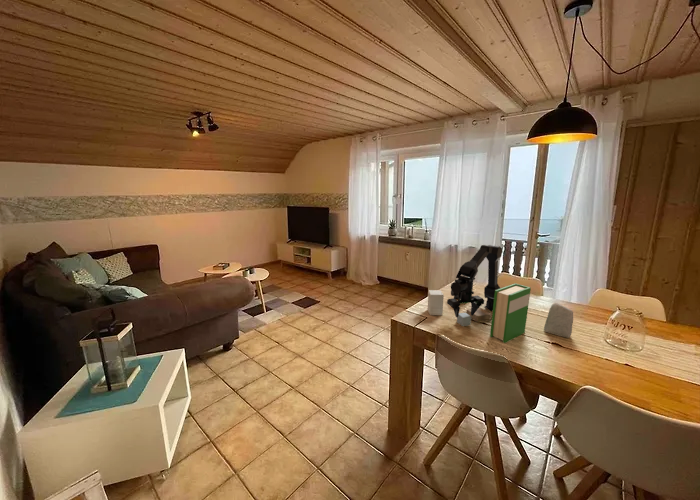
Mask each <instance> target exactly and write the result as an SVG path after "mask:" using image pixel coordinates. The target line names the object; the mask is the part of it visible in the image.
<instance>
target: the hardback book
mask: <svg viewBox="0 0 700 500" xmlns="http://www.w3.org/2000/svg"><path fill="white" fill-rule="evenodd" d="M531 291H532V290H531V287H530V286H528V285H527V286H526V285H522V284H520V283H516V282H515V283H513V284H509V285H506V286H504V287H500V289H498V290H495V295H494V304H493V311H492V313H491V323H490V324H491V325H490V334H489V337H490V338H493V337H494V338H497V339H499V340H501V341H502V344H506V343H508V342H510V341H513V340H514V339H515V338H518V337H519V336H521V335H523V334H525V333H526V326H527V319H528V311H529V303H530V298H531V297H530V295H531Z"/></svg>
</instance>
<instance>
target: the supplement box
mask: <svg viewBox="0 0 700 500" xmlns="http://www.w3.org/2000/svg"><path fill="white" fill-rule="evenodd" d="M427 295H428V297H427V299H428V300H427V311H428V314H429V315H430V316H443V313H444V297H445V295H444V293H443V291H442V290H438V289H436V290H434V289H429V290H428V293H427Z"/></svg>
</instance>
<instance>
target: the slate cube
mask: <svg viewBox="0 0 700 500" xmlns="http://www.w3.org/2000/svg"><path fill="white" fill-rule="evenodd" d="M456 323H458V325H460V326H461V327H466V326H471V325H472V324H471V323H472V319H471V316H470V315H468V314H467V313H466V312H459V315H458V318H457V317H456Z"/></svg>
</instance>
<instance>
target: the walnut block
mask: <svg viewBox="0 0 700 500" xmlns="http://www.w3.org/2000/svg"><path fill="white" fill-rule="evenodd" d="M465 313H467V314H468V315H470V316H471V321H474V322H475V323H482V322H487V321H492V313H491V312H489V311H487V310H485V309H483V308H482V307H481V306H480V307H479V308H478V309H477V311H476V312H475V313H474V315H473V316H472V315H471V308H467V309H466V311H465Z"/></svg>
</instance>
